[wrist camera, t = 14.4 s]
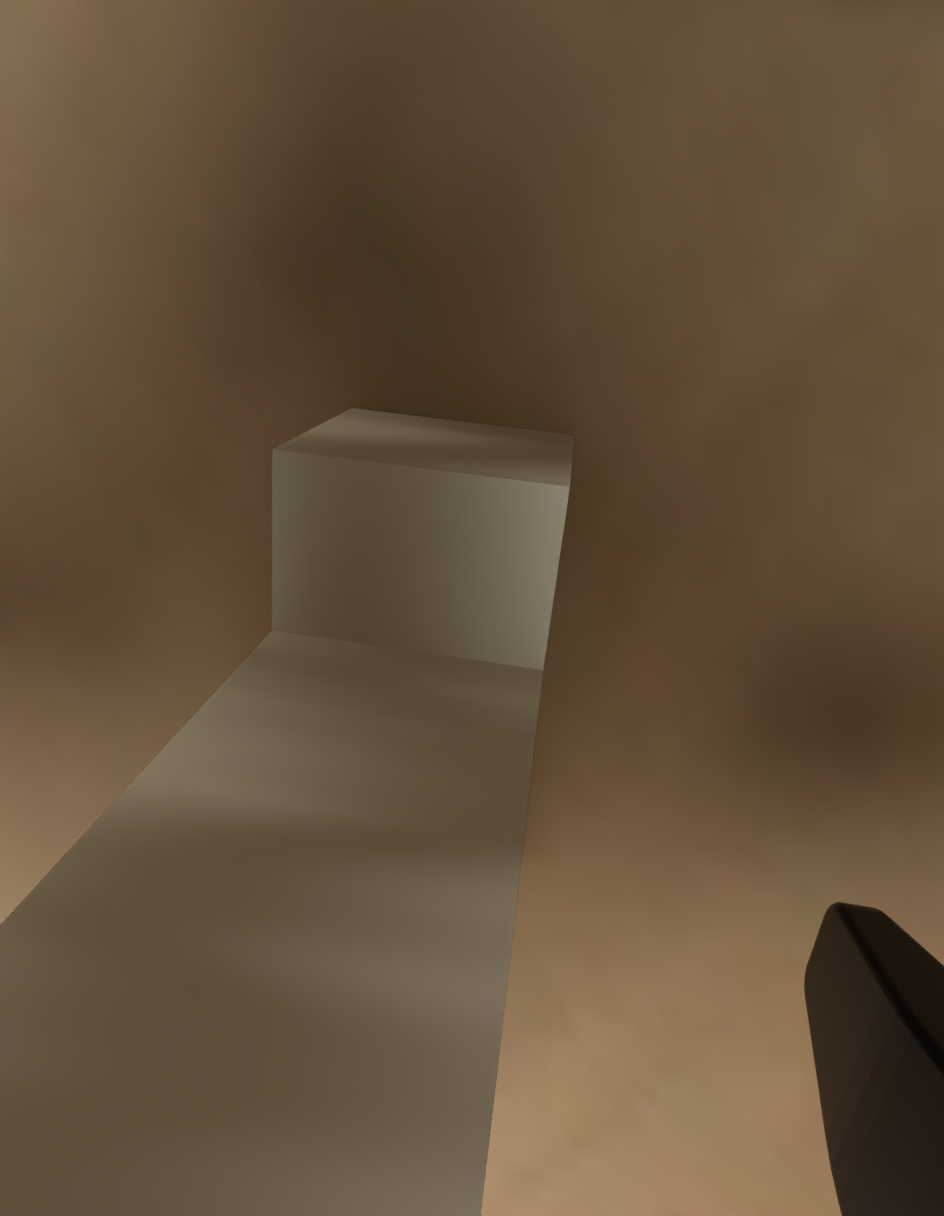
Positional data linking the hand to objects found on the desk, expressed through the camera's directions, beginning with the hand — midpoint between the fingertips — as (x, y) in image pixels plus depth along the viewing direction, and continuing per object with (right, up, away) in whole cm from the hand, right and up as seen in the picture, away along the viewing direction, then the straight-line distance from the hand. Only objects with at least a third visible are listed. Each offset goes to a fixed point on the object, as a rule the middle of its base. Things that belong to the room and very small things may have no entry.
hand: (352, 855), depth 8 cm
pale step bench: (+1, +2, +4) cm, 5 cm away
